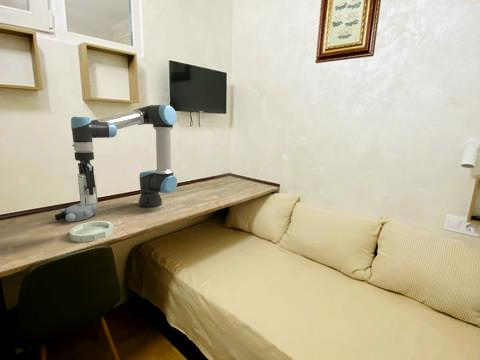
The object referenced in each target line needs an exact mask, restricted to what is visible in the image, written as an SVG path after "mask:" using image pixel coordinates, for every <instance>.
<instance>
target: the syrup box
mask: <svg viewBox="0 0 480 360" xmlns="http://www.w3.org/2000/svg"><path fill="white" fill-rule="evenodd" d="M96 177H97V176H96V174H95V173H94V179H95V187H94V196H95V201H92V202H88V196H87V189H86V187H87V183H86V176H85V174H79V173H78V174H77V183H78V184H77V185H78V192H79V200H80V202H79V203H81V204H83V205H85V206H87V205H92V204H94V205H97V204H98V203H99V201H98V191H97V179H96Z"/></svg>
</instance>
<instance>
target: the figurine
mask: <svg viewBox="0 0 480 360" xmlns="http://www.w3.org/2000/svg"><path fill="white" fill-rule="evenodd" d="M96 211H98V206H97V205H95V204H92V205H87V206H85V205H83V204H81V203H80V202H79V203H76V204H72V205H70V206H68V207H67V208H62V209H60V211H59V213H56V214H55V215H54V218H55V220H56V221H61V220H66V221H67V222H80V221H83V220H86V219H89V218H91V217H95V214H94V212H96Z"/></svg>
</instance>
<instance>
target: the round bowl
mask: <svg viewBox="0 0 480 360" xmlns="http://www.w3.org/2000/svg"><path fill="white" fill-rule="evenodd" d="M114 225H115V224H114V223H112V222H111V221H110V220H109V221H108V220H91V221H87V222H84V223H80V224H77V225H75V226H73V227H72V228H71V229H70V230H69V231H68V234H69V238H70V239H71V241H72V242H79V243H85V242H95V241H99V240H102V239H106V238H107V237H109V236H111V235H112V234H113V233H114V230H115V226H114Z"/></svg>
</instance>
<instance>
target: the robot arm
mask: <svg viewBox="0 0 480 360" xmlns="http://www.w3.org/2000/svg"><path fill="white" fill-rule="evenodd" d="M177 120H178V115H177V112H176V110H175V109H174V108H173V106H171V105H168V104H151V105H145V106H143V107H140V108H136V109H133V110H132V111H130V112H125V113H121V114H116V115H112V116H111V115H110V116H105V117H103V118H101V117H100V118H97V119H92V120H91V118H90V117H87V116H72V117H71V118H70V129H71V133H72V134H71V135H72V142H73V144H71V145H72V146H71V147H73V150H74V160H75V161H78V163H77V166H78V167H77V168H78V174H85V176H86V183H87V187H86V189H87V196H88V202H92V201H95V196H94V187H95V179H94V174H95V172H94V168H95V167H94V165H92V164H91V161H94V160H95V154H94V144H93V143H94V142H93V139H107V138H108V139H110V138H114V137H116V136H117V134H118V130H119V129H125V128H127V127H132V126H136V125H138V126H142V125H152V127H153V129H154V130H155V146H156V147H155V148H156V149H155V150H156V151H155V152H156V170H155V169H154V170H146V171H144V170H143V171H141V172H140V173H139V177H138V179H139V190H140V195H139V199H138V204H137V205H138V207H139V208H143V209H145V208H146V209H151V208H152V209H153V208H157V207H160V206H162V205H163V200H162V197H161V195H160V193H162V194H171V193H173V192H174V191H175V190H176V189H177V186H178V179H177V177H176V176H175V175H174V171H173V170H172V159H171V158H172V155H171V154H172V153H171V149H172V148H171V147H172V146H171V145H172V144H171V143H172V142H171V131H172V130H173V128H174V125H175V124H176V123H177V122H178V121H177Z"/></svg>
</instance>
